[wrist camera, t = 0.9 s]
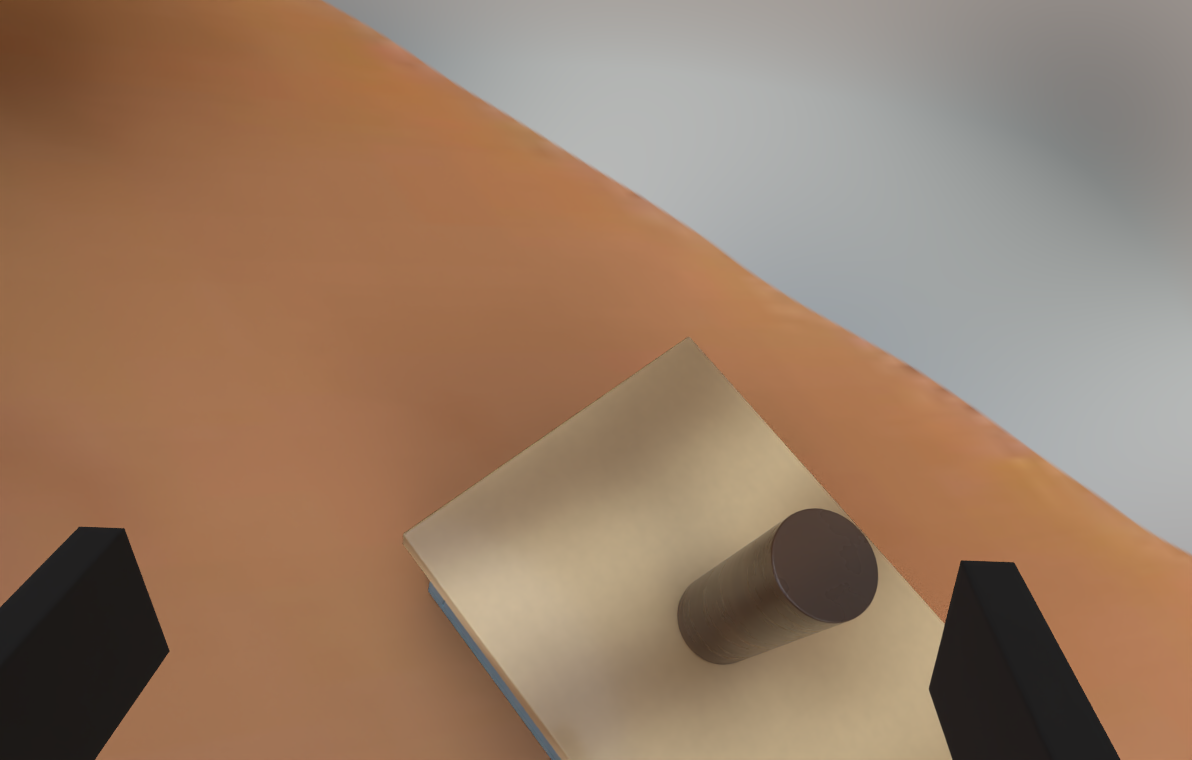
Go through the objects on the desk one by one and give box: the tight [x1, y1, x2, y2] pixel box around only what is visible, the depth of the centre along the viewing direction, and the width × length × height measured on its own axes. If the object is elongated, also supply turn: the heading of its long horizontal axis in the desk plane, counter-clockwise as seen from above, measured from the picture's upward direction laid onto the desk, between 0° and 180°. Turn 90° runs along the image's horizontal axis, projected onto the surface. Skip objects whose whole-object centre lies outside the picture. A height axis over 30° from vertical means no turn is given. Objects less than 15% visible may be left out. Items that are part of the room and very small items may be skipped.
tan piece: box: [403, 337, 952, 760], centre depth 25 cm, size 18×14×9 cm
